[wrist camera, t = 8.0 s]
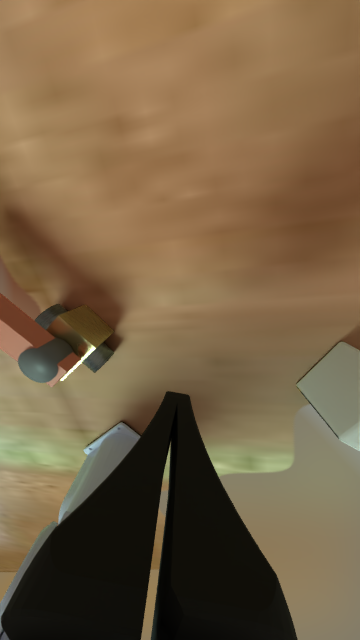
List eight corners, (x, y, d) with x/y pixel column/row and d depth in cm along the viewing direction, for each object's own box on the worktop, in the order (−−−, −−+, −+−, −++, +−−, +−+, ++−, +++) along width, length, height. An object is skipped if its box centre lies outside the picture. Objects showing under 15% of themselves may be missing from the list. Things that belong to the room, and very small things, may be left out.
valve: (96, 368, 23) (75, 392, 19) (45, 325, 21) (10, 341, 17) (125, 341, 21) (109, 360, 17) (72, 292, 19) (41, 301, 15)
